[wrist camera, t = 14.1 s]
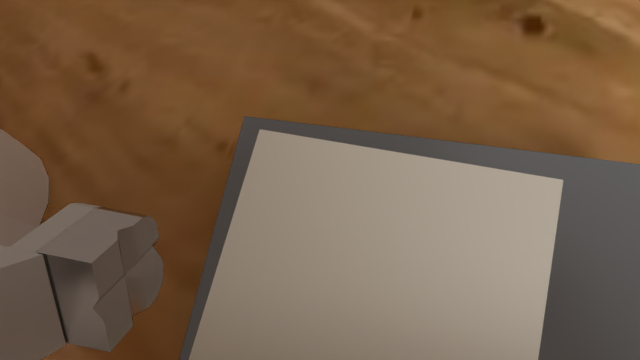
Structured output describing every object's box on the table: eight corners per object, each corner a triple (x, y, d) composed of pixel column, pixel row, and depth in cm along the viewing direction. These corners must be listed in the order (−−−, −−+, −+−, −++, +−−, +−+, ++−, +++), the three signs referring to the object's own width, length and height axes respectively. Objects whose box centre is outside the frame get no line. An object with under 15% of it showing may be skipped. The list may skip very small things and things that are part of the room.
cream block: (300, 405, 15) (166, 429, 8) (341, 242, 16) (259, 129, 9) (473, 456, 14) (512, 543, 6) (502, 277, 15) (563, 179, 8)
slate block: (205, 491, 20) (133, 529, 15) (283, 168, 23) (244, 116, 18) (576, 603, 17) (631, 693, 12) (604, 214, 20) (655, 166, 15)
